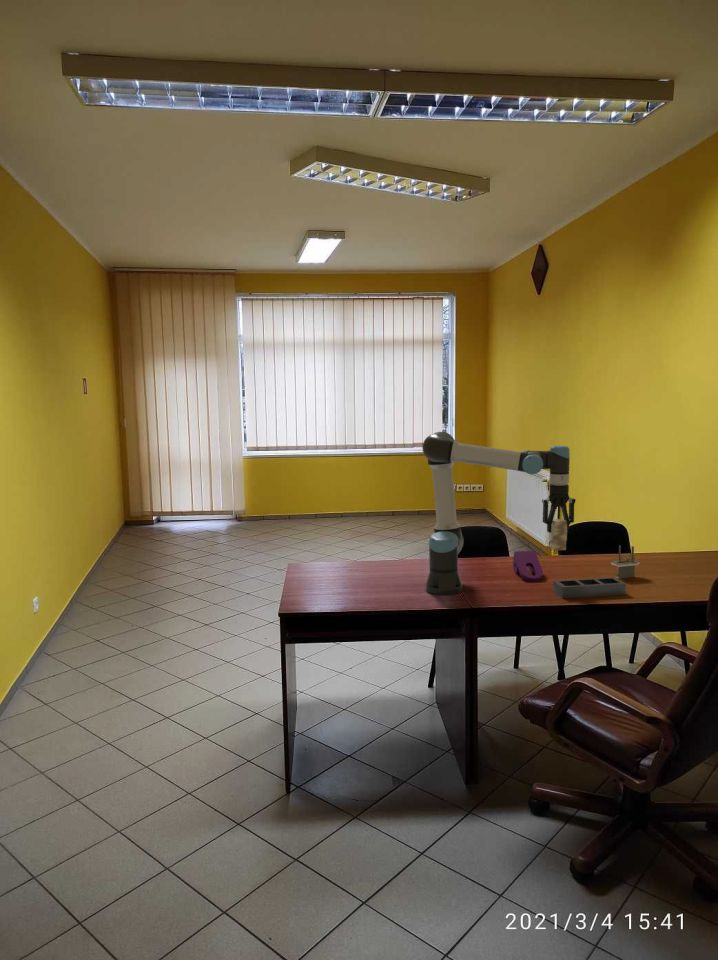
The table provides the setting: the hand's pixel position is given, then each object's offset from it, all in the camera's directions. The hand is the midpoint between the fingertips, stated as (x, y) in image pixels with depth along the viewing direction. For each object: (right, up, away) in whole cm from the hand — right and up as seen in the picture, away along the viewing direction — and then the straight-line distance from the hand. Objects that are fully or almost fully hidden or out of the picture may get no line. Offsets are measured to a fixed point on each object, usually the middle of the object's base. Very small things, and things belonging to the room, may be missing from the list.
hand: (557, 539), depth 272 cm
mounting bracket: (-7, -18, +20) cm, 28 cm away
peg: (0, -4, +1) cm, 4 cm away
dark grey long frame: (+11, -21, -6) cm, 24 cm away
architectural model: (+33, -18, +14) cm, 40 cm away
